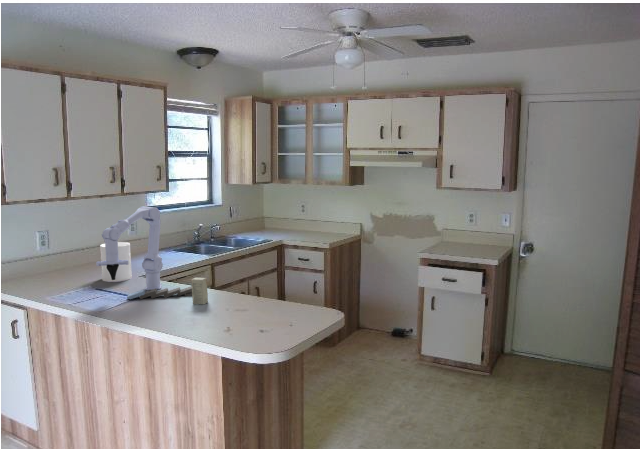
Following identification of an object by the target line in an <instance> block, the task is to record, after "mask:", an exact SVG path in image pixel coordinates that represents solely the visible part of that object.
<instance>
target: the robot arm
mask: <svg viewBox="0 0 640 449" xmlns="http://www.w3.org/2000/svg"><path fill="white" fill-rule="evenodd" d="M141 219H143V221H146V223H148V224H149V229H148V243H147V253H146V254H145V255H144V256H143V261H142V263H141V267H142V269H143V270H144V272H145V288H144V290H145V291H149V290H152V289H155V288H156V290H162V286H163V285H162V283H161V271H162V270H163V267H164V266H163V265H164V264H163V259H162V256H160V254H159V249H160V236H161V225H162V224H161V222H162V220H161V211H160V210H159V208H158V207H156V206H143V205H141V206H139V208H136V211H134V212H133V213H132V214H130V216H128V217H127V218H126V219H118V220H117V222H116V223H114V224H112V225H111V226H110V227H107V228H105V229H103V231H102V234H101V238H102V239H103V240H104V244H105V250H106V261H101V260H100V261H99V260H98V261H96V264H95V265H96V267H101V266H105V265H107V267H106V268H107V270H108V271H109V273H110V275H111V278H112V280H115V277H116V272H117V269H118V267H119V265H128V264H129V261H128V260H119V256H118V242H119V239H120V237H121V236H122V234H124V233H125V232H127V231H128V230H129V229H130V226H131V225H132V224H134V223H136V222H137V221H139V220H141Z"/></svg>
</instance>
